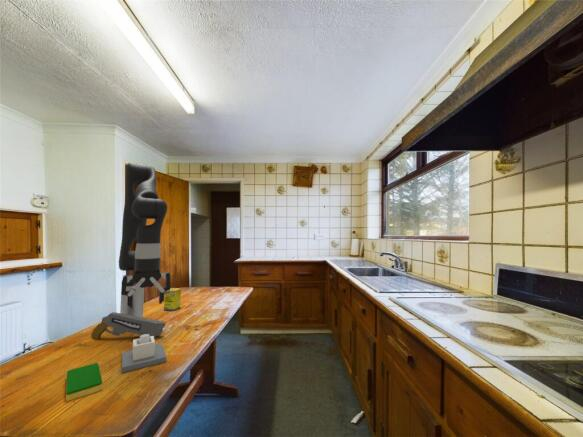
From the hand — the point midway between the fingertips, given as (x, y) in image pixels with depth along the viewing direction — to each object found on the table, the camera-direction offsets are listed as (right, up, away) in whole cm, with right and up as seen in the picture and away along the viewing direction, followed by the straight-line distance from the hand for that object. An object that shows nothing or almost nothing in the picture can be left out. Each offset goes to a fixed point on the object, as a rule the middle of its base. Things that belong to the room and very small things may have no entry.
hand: (145, 305), depth 84 cm
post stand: (0, -17, -1) cm, 18 cm away
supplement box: (-17, -21, +54) cm, 60 cm away
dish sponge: (-9, -17, -15) cm, 24 cm away
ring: (0, -16, -1) cm, 16 cm away
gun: (-16, -19, +16) cm, 30 cm away
